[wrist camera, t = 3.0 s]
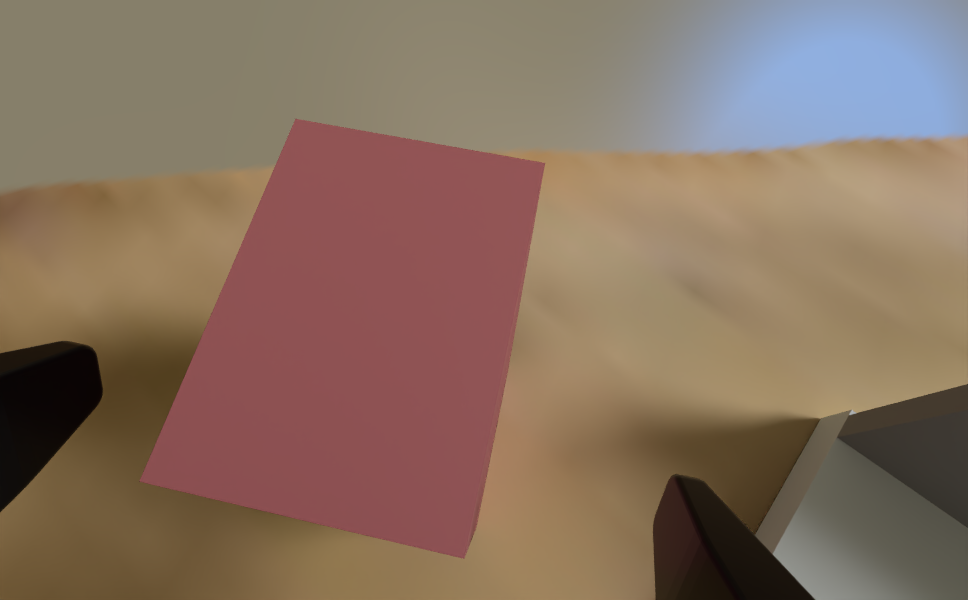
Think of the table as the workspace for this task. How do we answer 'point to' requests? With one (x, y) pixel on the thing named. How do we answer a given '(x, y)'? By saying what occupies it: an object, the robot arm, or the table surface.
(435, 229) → the tall pink rectangular prism
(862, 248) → the table surface
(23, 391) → the robot arm
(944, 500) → the shelf
